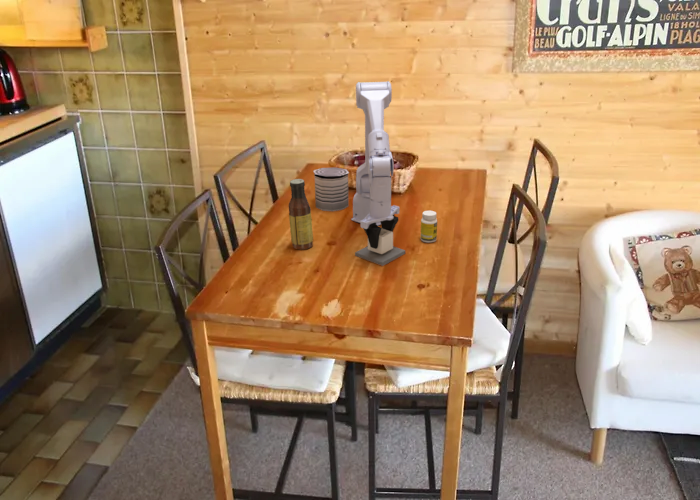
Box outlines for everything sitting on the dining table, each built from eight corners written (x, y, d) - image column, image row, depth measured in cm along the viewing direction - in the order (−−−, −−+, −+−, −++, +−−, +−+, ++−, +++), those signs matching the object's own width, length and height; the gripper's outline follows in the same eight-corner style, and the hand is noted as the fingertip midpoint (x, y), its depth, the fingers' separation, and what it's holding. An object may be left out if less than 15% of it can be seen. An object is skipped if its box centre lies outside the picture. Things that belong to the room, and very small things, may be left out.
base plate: (355, 255, 199) (354, 241, 197) (377, 244, 206) (377, 229, 204) (382, 265, 193) (382, 250, 191) (405, 253, 200) (405, 239, 198)
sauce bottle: (317, 243, 207) (314, 179, 198) (306, 252, 202) (303, 186, 193) (297, 240, 209) (293, 176, 201) (286, 248, 204) (282, 183, 196)
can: (307, 207, 232) (306, 172, 227) (327, 196, 241) (325, 162, 236) (337, 213, 227) (336, 178, 222) (355, 202, 236) (355, 168, 230)
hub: (367, 249, 199) (367, 232, 196) (379, 243, 202) (379, 227, 200) (381, 254, 196) (381, 237, 193) (392, 248, 199) (393, 232, 197)
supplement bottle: (435, 243, 206) (436, 216, 202) (419, 242, 207) (420, 215, 203) (437, 236, 210) (438, 210, 206) (421, 235, 211) (422, 209, 207)
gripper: (374, 210, 185) (374, 257, 191) (408, 194, 195) (407, 239, 201) (354, 203, 189) (354, 249, 195) (388, 188, 199) (388, 233, 205)
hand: (380, 244), depth 198 cm, fingers closed on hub, 5 cm apart
